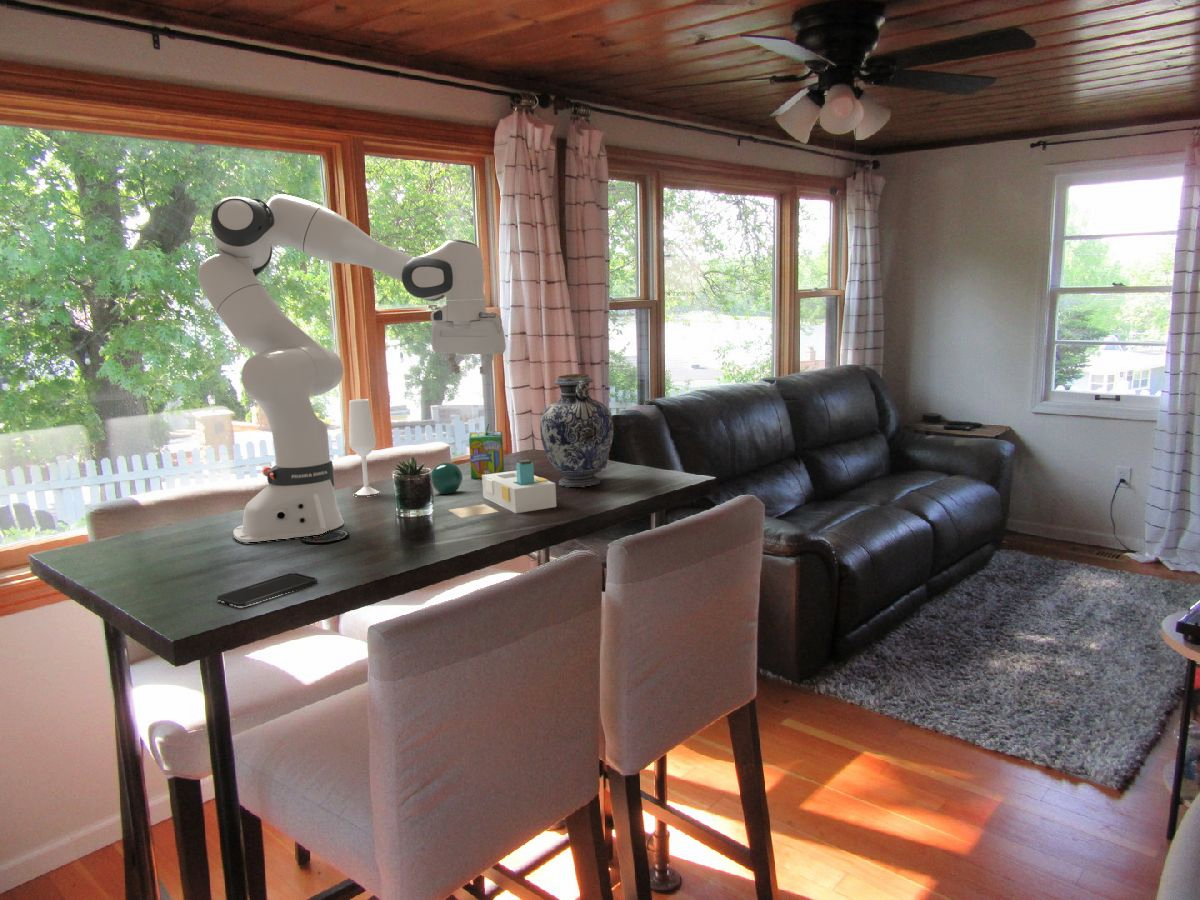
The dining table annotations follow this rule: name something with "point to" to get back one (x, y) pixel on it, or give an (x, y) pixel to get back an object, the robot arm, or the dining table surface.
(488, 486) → the block
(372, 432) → the champagne flute
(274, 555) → the dining table surface
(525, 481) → the plug
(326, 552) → the dining table surface
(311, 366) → the robot arm
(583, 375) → the decorative vase
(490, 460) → the chalk box
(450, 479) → the sphere
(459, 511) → the coaster
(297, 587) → the phone
